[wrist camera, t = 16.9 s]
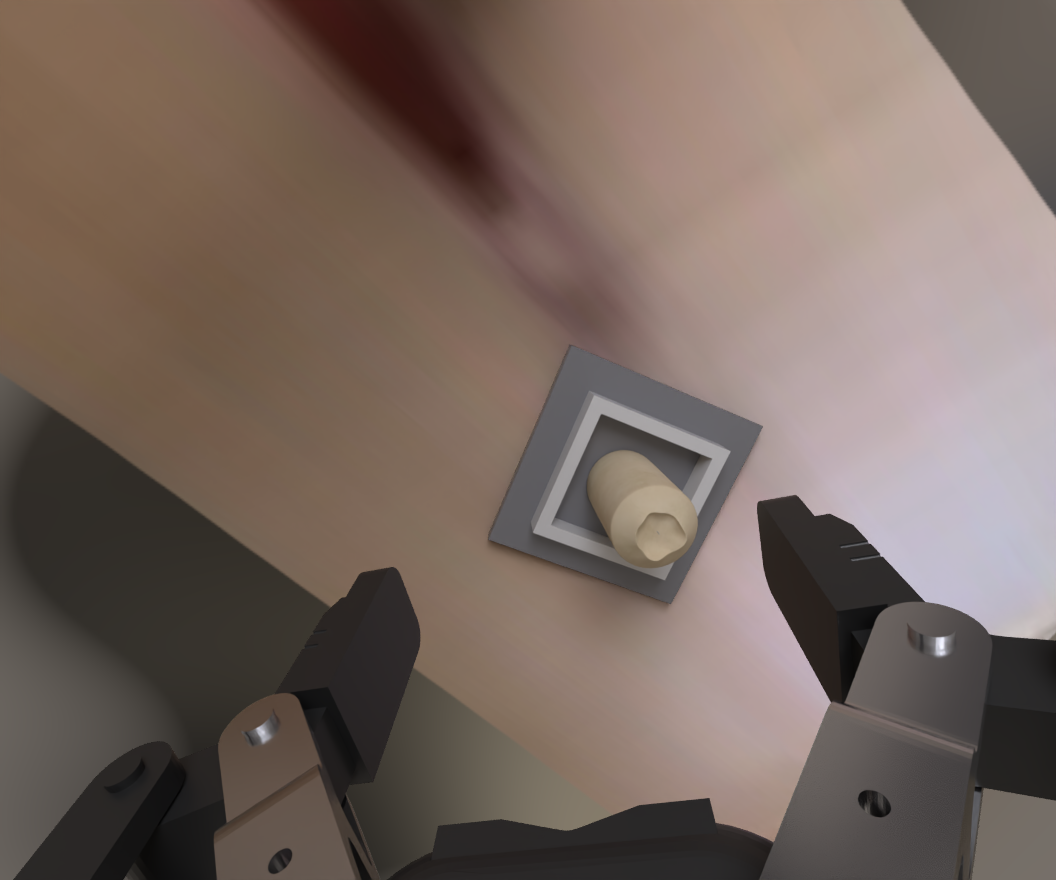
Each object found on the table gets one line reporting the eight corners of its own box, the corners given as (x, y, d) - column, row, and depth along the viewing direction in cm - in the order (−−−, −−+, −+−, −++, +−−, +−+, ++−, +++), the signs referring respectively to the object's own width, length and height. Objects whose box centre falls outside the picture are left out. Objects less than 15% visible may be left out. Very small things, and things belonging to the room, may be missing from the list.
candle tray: (488, 534, 44) (488, 550, 41) (569, 344, 41) (576, 347, 38) (667, 597, 46) (679, 617, 44) (756, 423, 43) (776, 432, 40)
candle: (666, 458, 42) (719, 504, 33) (644, 524, 44) (689, 587, 34) (597, 441, 42) (631, 483, 32) (577, 509, 43) (604, 569, 33)
